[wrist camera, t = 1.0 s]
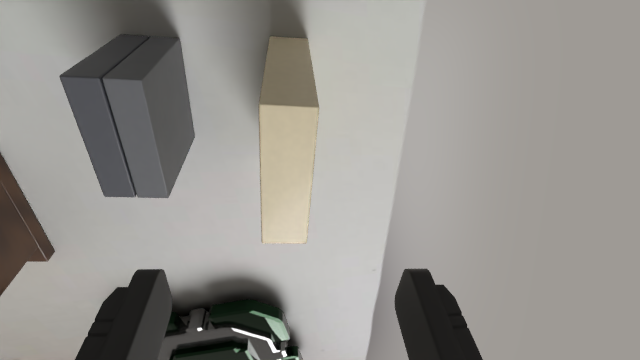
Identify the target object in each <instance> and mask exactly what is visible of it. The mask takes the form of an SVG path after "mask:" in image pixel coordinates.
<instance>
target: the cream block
mask: <svg viewBox="0 0 640 360" xmlns="http://www.w3.org/2000/svg"><path fill="white" fill-rule="evenodd" d="M318 115H319V104H318V98H317V92H316V86H315V80H314V74H313V68H312V62H311V56H310V50H309V44H308V39H303V38H289V37H275V36H270V38H269V44H268V50H267V56H266V63H265V69H264V75H263V81H262V87H261V94H260V100H259V139H260V186H261V232H262V243H278V244H306V243H307V234H308V223H309V213H310V202H311V191H312V180H313V169H314V158H315V147H316V136H317V125H318Z"/></svg>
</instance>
